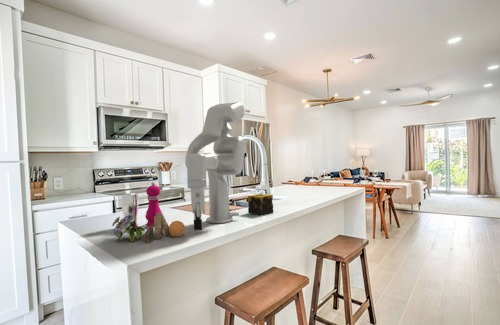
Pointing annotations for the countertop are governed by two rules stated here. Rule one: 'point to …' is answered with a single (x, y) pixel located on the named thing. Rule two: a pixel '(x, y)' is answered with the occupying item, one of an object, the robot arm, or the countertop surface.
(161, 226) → the back pin right
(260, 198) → the dark textured cube
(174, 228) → the ball
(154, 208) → the pepper mill
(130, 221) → the passion flower
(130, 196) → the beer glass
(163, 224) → the front pin
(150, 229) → the wall
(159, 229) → the back pin left
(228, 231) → the countertop surface
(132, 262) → the countertop surface
